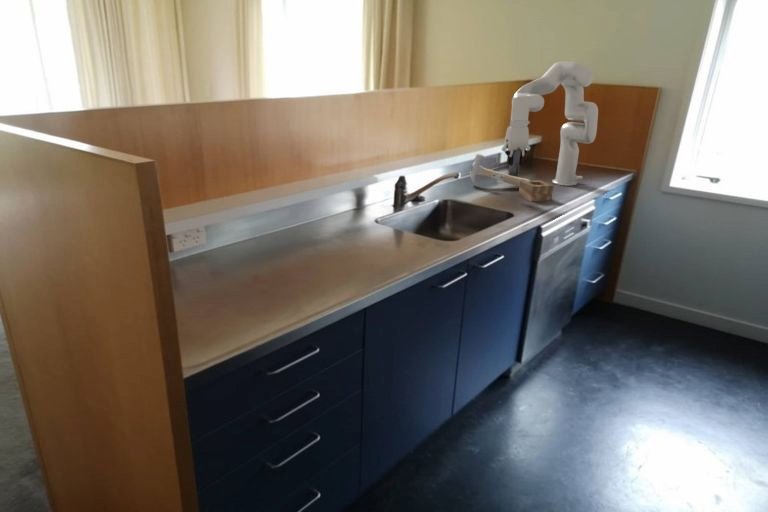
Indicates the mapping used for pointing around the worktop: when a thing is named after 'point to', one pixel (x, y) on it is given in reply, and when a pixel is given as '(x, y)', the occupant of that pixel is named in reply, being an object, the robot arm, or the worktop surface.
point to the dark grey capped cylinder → (515, 163)
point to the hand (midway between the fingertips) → (514, 164)
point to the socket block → (535, 190)
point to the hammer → (492, 173)
